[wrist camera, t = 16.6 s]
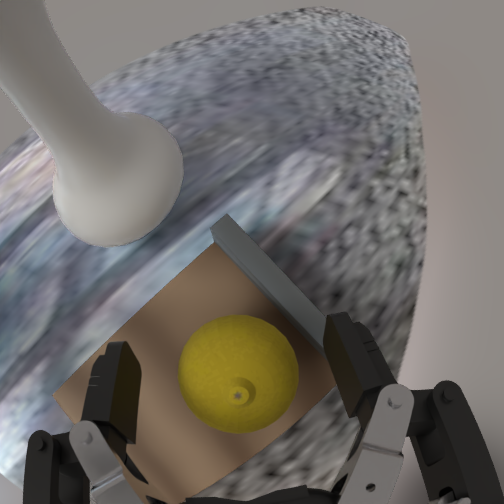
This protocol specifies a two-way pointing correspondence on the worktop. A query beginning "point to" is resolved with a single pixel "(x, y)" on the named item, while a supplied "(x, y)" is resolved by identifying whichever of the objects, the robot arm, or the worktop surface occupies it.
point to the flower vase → (86, 136)
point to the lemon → (238, 374)
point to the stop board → (171, 346)
